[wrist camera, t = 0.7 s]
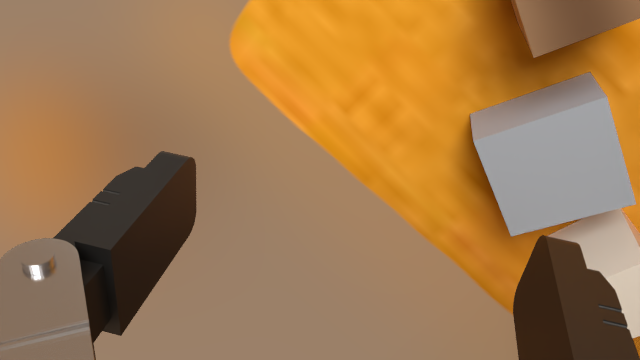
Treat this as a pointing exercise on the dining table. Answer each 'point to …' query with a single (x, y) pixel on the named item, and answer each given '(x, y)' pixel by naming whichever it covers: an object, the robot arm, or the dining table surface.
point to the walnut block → (569, 20)
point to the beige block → (611, 256)
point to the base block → (553, 155)
